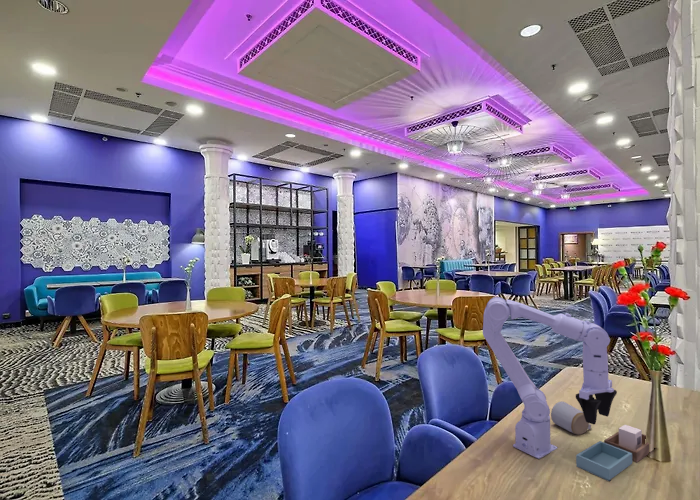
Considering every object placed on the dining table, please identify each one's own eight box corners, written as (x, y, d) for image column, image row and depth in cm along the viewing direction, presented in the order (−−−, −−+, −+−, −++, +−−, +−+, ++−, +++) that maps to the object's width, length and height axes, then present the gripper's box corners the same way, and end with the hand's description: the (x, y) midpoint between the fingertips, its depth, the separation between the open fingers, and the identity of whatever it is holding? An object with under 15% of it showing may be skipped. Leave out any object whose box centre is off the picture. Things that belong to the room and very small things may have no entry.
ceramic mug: (573, 438, 111) (573, 412, 111) (550, 426, 119) (550, 402, 119) (598, 432, 115) (598, 408, 115) (575, 421, 122) (574, 398, 122)
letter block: (636, 454, 101) (636, 434, 101) (618, 447, 105) (618, 428, 105) (642, 450, 103) (642, 430, 103) (625, 443, 107) (624, 424, 107)
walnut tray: (636, 464, 98) (636, 452, 98) (604, 450, 104) (604, 440, 104) (656, 449, 104) (656, 438, 104) (624, 437, 111) (624, 427, 111)
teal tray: (609, 481, 91) (609, 469, 91) (576, 466, 97) (576, 454, 97) (632, 464, 97) (632, 453, 97) (600, 451, 104) (599, 440, 104)
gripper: (599, 378, 94) (601, 432, 94) (623, 367, 102) (625, 416, 102) (570, 371, 100) (572, 422, 100) (595, 361, 108) (597, 408, 108)
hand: (597, 418), depth 101 cm, fingers open, 7 cm apart
